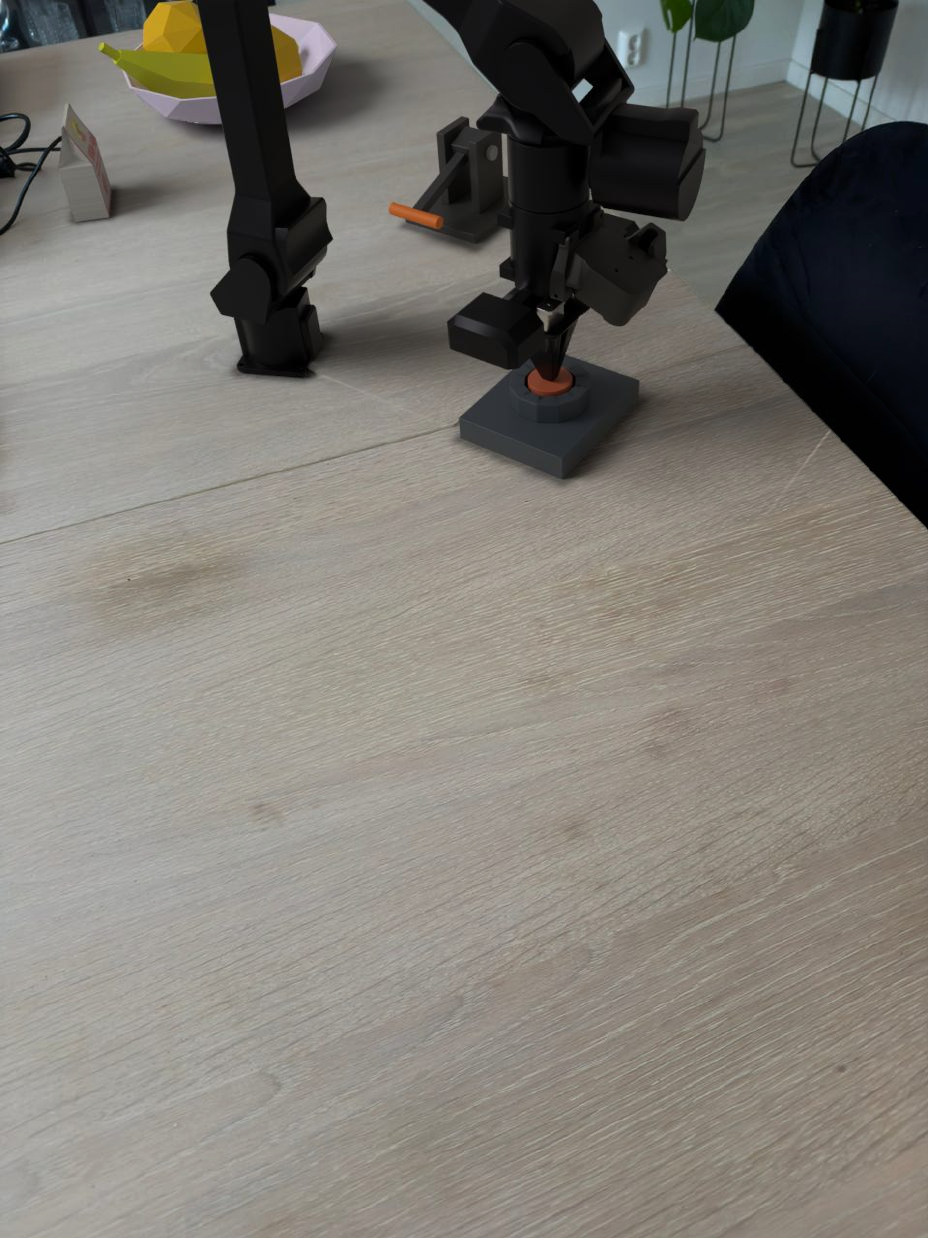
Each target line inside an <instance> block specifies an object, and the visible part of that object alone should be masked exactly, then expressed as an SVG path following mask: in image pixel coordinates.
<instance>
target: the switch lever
mask: <svg viewBox="0 0 928 1238" xmlns="http://www.w3.org/2000/svg"><path fill="white" fill-rule="evenodd" d="M481 132H483V131H482V130H479V129H478V128H477V127H476V128H475V127H472V126H470V127H468V126H465V128H464V129H463V130H462V131H461V133H460V134H459V135H458V136H457V138H456V139H455V140H454V141H453V143H452V144H451V146H452V149H453V152H454V156H453V157H452V158H451V160H450V161H449V162H448V163H447V165H446V166H445V167H444V168H443V170H442V171H441V172H440V174H437V176H436V177H435V179H434V180H433V181H432V183H431V184H430V185H429V186H428V187H427V188H426V190H425V191H424V193H423V194H421V196H420V197H419V199H418V200H417V201H416V202H415V204H414V205H413V206H412V207H410V206H407V205H404V204H401V203H398V202H395V201H393V202H391V203H390V204H389V206H388V213H389V215H391V216H394V217H397V218H400V219H403V220H405V219H407V220H410V221H413V222H416V223H420V224H423V225H426V226H429V227H432V228H436V229H440V228H441V227H442V225H443V218H442V217H441V216H437V215H434V214H431V213H428V211H429V210H430V209H431V208H432V206H433V205H434V204H435V202H436V201H437V200H438V199H439V197H440V196H441V195H442V194H443V192H444V191H445V190H446V188H447V187H448V186H449V185H450V183H451V182H452V181H453V180H454V178H455V177H456V176H457V174H458V173H459V172H460V171H461V169H462V168H463V167H464V166H468V167H470V159H469V141H470V140H471V139H473V138H474V137H476V136H477V135H478V134H480V133H481Z"/></svg>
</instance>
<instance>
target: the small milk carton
mask: <svg viewBox="0 0 928 1238" xmlns="http://www.w3.org/2000/svg"><path fill="white" fill-rule="evenodd" d="M64 103H65V104H64V109H63V114H62V115H63V116H62V122H61V127H60V128H61V129H60V131H61V142H60V152H59V157H58V165H57V172H58V175H59V179H60V182H61V184H62V187H63V189H64V190H63V191H64V193H65V196H66V199H67V202H68V204H69V208H70V210H71V213H72V216H73V219H74V222H75V223H81V222H86V221H93V220H100V219H101V220H102V219H106V218H110V214H111V201H112V190H113V189H112V186H111V183H110V180H109V177H108V174H107V169H106V167H105V164H104V160H103V157H102V155H101V151H100V148H99V144H98V141H97V137H96V136H95V135H94V134H93V132H92V131H91V130H90V129H89V128H88V127H87V125H86V124H85V123H84V122H83V121H82V119H81V118H80V117H79V115H78V114H77V113H76V111H75V110H74V109H73V107H72V105H71V103H70V102H69V101H68V103H66V102H64Z"/></svg>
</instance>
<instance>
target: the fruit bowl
mask: <svg viewBox="0 0 928 1238" xmlns="http://www.w3.org/2000/svg"><path fill="white" fill-rule="evenodd" d="M269 17H270V23H271V29H272V35H273V42H274V48H275V54H276V60H277V66H278V72H279V78H280V85H281V91H282V97H283V103H284V109H285V108H286V109H287V108H289V107H291V106H292V105H294V104H296V103H298V102H299V101H301V100H303V99H305V98H307V97H308V96H310V95H312V94H314V93H315V92H317V91H319V90H320V89H321V87H322V84H323V82H324V80H325V77H326V74H327V73H328V70H329V68H330V66H331V63H332V60H333V57H334V55H335V53H336V50H337V48H338V44H337V43H336V42H335V40H334V39H333V38H332V36H331V35H330V34H329V32H328V31H327V30H326V29H325V28H324V27H323V25H322V24H321V22H317V21H312V20H307V19H303V18H297V17H292V16H287V15H282V14H277V13H272V12H269ZM142 29H143V30H142V31H143V32H142V33H143V34H142V42H141V43H140V44H139V45H138V46H137V47H135V48H134V49H116V48H114V47H112V46H111V45H109V44H107V43H106V42H100V43H99V45H98V47H97V48H98V51H99V52H100V53H102V54H103V55H105V56H107V57H109V59H112V61H113V63H114V65H116V66H117V67H118V68H119V69H121V72H122V74H123V76H124V79H125V81H126V83H127V85H128V88H129V89H130V90H131V92H133V94H134V95H135V96H136V97H137V98H138V99H139V100H140V102H142V103H143V104H144V105H145V106H147V107H149V108H150V109H152V110H153V111H155V112H156V113H157V114H159V115H161V116H162V117H164V118H165V119H168V120H169V119H170V120H174V121H181V122H185V121H187V123H190V124H193V123H192V122H198V123H194V124H196V125H204V124H203V123H208V124H207V125H222V122H221V117H220V113H219V108H218V103H217V98H216V93H215V88H214V84H213V79H212V74H211V69H210V64H209V59H208V55H207V50H206V45H205V40H204V35H203V31H202V26H201V21H200V16H199V11H198V6H197V3H194V2H193V1H191V0H174V1H162V2H158V3H157V4H156V6H155V7H154V8H153V9H152V11H151V13H150V14H149V15H148V17H147V18H146V20H145V21H144V22H143V28H142ZM302 72H304V73H305V75H302ZM286 109H285V110H286Z"/></svg>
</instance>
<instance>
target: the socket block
mask: <svg viewBox="0 0 928 1238" xmlns="http://www.w3.org/2000/svg"><path fill="white" fill-rule="evenodd" d="M561 367H562V368H564V369H566V370H568V371H569V372H570V373H571V375H572V389H571V390H570V391H569V392H567V393H564V394H561V395H558V396H540V395H537V394H535V393H532V392H530V391H529V390H528V377H529V375H530V373H531V372H532V371H533V370H535V369H536V368H535V366H534V364H533V363H532V361H531V359H529V360H528V361H526V362H525V363H524V364H523V365H522V366H521V367H520V368H519V369H512V370H509V372H508V373H506V375H504V376H503V377H502V378H501V379H499V381H498V382H497V383H496V384H495V385H493V386H492V387H491V388H490V389H489V390H488V391H487V392H486V393H484V394H483V396H481V397H480V398H479V399H478V400H477V401H475V403H474V404H473V405H471V406H470V407H469V408H468V409H467V410H466V411H465V412H464V413H462V415H460V416H459V417H458V424H459V437H460V439H462V440H464V441H467V442H469V443H471V444H474V445H476V446H479V447H481V448H484V449H486V450H489V451H491V452H492V453H493V452H494V453H496V454H498V455H501V456H504V457H505V458H507V459H511V460H513V461H515V462H518V463H520V464H522V465H525V466H527V467H530V468H532V469H534V470H537V471H540V472H542V473H545V474H547V475H550V476H552V477H554V478H557V479H559V480H564V479H565V478H566V477H567V475H569V473H571V472H572V471H573V469H574V468H575V467H577V465H578V464H579V463H580V462H581V461H582V460H583V459H584V458H585V457H586V456H587V455H588V454H589V453H590V452H591V450H593V448H595V447H596V445H598V443H599V442H600V441H602V439H603V438H604V437H605V436H606V435H607V434H608V433H609V431H611V430H612V429H613V428H614V427H615V426H616V425H617V423H619V421H621V419H623V417H625V415H626V414H627V413H628V412H629V411H630V410H631V409H632V408H633V407H634V406H635V405H636V404H637V403H638V402H639V395H640V394H639V393H640V380H639V379H637V378H634V377H631V376H628V375H626V374H623V373H620V372H617V371H614V370H611V369H609V368H606V367H603V366H600V365H597V364H594V363H591V362H588V361H585V360H583V359H580V358H577V357H575V356H572V355H570V354H569V355H568V354H566V355H565V357H564V360H563V363H562V366H561Z"/></svg>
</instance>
